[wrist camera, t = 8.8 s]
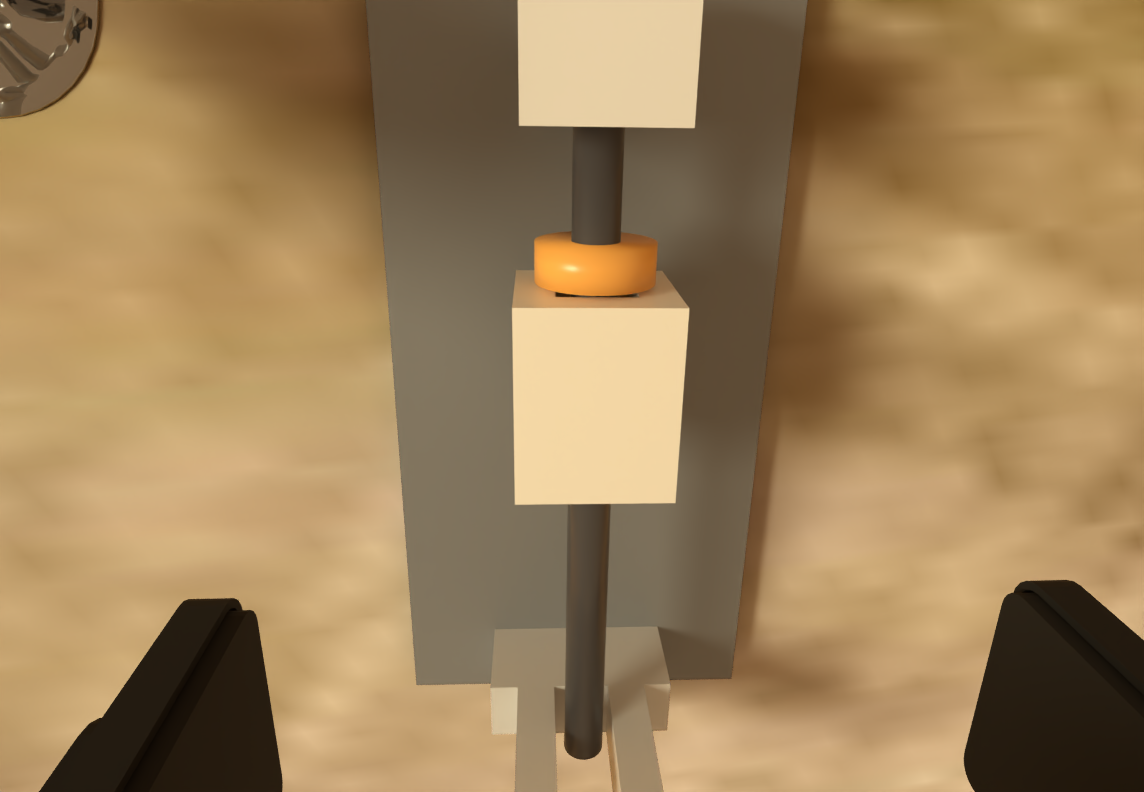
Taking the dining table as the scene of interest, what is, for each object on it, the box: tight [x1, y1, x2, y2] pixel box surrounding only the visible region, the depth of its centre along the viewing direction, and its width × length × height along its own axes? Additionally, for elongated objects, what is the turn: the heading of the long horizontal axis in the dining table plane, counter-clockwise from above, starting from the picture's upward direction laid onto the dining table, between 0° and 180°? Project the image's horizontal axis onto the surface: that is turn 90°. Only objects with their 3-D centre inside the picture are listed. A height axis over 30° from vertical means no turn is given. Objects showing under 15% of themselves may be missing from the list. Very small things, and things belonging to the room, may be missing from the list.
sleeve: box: [512, 270, 689, 505], centre depth 20 cm, size 5×4×4 cm
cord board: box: [366, 0, 808, 792], centre depth 22 cm, size 24×12×9 cm, turn 179°
